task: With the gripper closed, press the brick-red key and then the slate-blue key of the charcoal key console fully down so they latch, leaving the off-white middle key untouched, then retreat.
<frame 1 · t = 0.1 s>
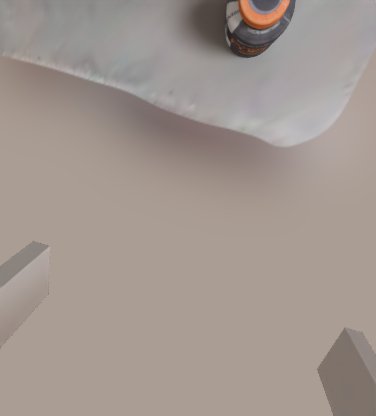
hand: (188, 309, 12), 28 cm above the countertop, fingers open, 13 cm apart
pill bottle: (250, 29, 31), on the countertop
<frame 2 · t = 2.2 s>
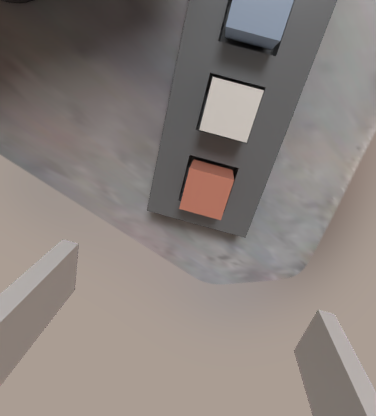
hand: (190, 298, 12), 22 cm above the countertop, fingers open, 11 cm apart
console: (228, 108, 29), on the countertop
key blue: (259, 8, 21), point 5 cm above the countertop, slide at 0.0 cm
key red: (206, 188, 28), point 5 cm above the countertop, slide at 0.0 cm
key white: (229, 110, 24), point 5 cm above the countertop, slide at 0.0 cm
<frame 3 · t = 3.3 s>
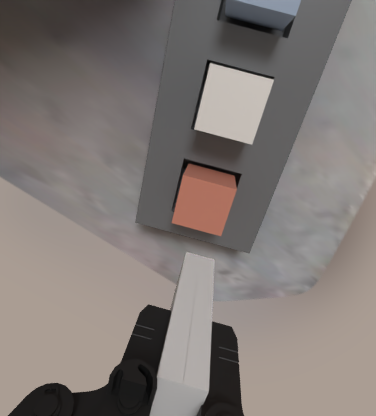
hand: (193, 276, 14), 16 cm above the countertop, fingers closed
console: (229, 103, 25), on the countertop
key red: (204, 198, 23), point 5 cm above the countertop, slide at 0.0 cm
key white: (231, 105, 20), point 5 cm above the countertop, slide at 0.0 cm
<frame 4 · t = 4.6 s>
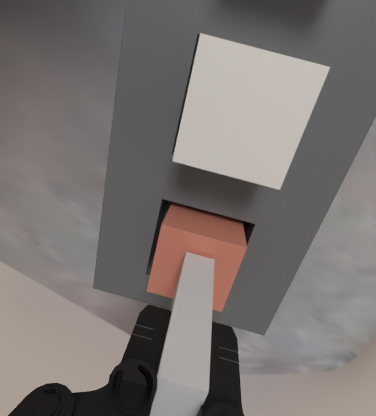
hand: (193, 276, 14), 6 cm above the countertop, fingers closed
console: (234, 110, 16), on the countertop
key red: (196, 250, 16), point 4 cm above the countertop, slide at 1.3 cm, touching gripper
key white: (239, 115, 11), point 5 cm above the countertop, slide at 0.0 cm
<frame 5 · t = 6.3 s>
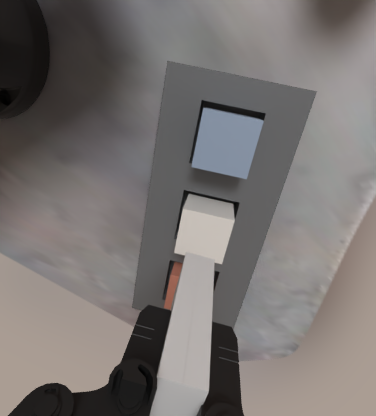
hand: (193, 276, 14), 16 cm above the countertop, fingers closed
console: (207, 207, 29), on the countertop
key blue: (225, 141, 21), point 5 cm above the countertop, slide at 0.0 cm
key red: (190, 284, 29), point 4 cm above the countertop, slide at 1.6 cm
key white: (204, 227, 24), point 5 cm above the countertop, slide at 0.0 cm
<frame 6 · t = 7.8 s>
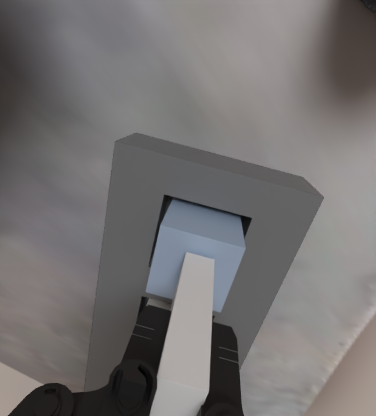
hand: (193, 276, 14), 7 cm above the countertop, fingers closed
console: (178, 295, 23), on the countertop
key blue: (195, 251, 16), point 5 cm above the countertop, slide at 0.5 cm, touching gripper
key white: (167, 347, 19), point 5 cm above the countertop, slide at 0.0 cm
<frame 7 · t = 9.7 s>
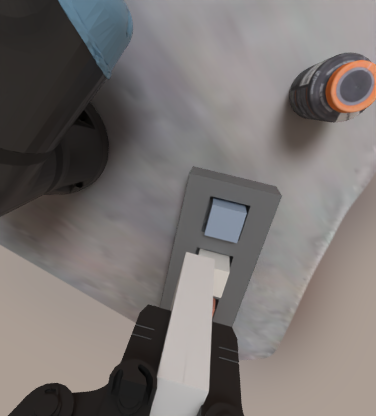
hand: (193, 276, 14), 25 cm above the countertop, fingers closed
console: (211, 253, 42), on the countertop
key blue: (225, 218, 35), point 4 cm above the countertop, slide at 1.6 cm
key red: (198, 307, 42), point 4 cm above the countertop, slide at 1.6 cm
pill bottle: (313, 93, 32), on the countertop
key white: (210, 272, 37), point 5 cm above the countertop, slide at 0.0 cm
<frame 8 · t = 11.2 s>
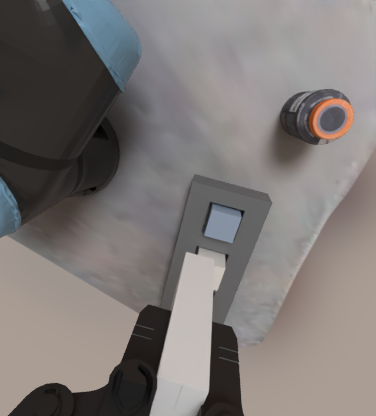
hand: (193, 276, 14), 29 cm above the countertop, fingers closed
console: (209, 251, 47), on the countertop
key blue: (222, 221, 40), point 4 cm above the countertop, slide at 1.6 cm
pill bottle: (301, 114, 37), on the countertop
key white: (208, 268, 42), point 5 cm above the countertop, slide at 0.0 cm
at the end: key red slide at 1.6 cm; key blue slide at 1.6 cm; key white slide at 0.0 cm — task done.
